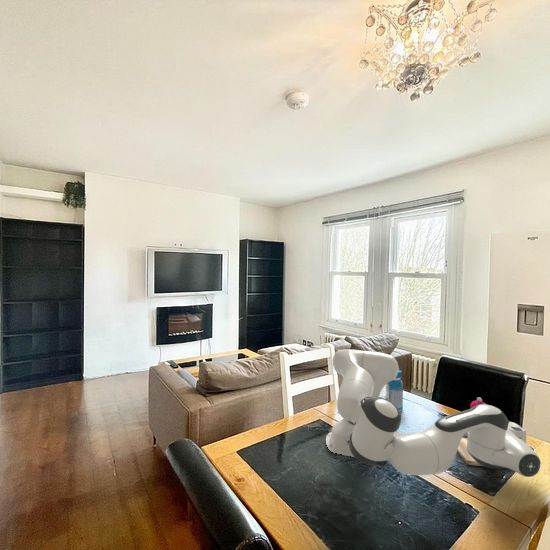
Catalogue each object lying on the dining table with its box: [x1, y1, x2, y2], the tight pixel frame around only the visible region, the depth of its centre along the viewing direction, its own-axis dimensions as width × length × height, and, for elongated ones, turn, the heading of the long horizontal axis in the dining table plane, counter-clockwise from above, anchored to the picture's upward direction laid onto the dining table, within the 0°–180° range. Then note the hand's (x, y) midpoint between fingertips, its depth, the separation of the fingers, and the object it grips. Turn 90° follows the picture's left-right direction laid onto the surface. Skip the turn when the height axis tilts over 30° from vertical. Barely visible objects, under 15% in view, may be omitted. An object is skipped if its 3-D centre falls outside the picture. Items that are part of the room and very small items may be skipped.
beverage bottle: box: [385, 369, 404, 412], centre depth 157 cm, size 8×8×20 cm
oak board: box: [457, 437, 484, 467], centre depth 119 cm, size 16×16×2 cm
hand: (478, 418), depth 119 cm, fingers closed on pepper mill, 5 cm apart
